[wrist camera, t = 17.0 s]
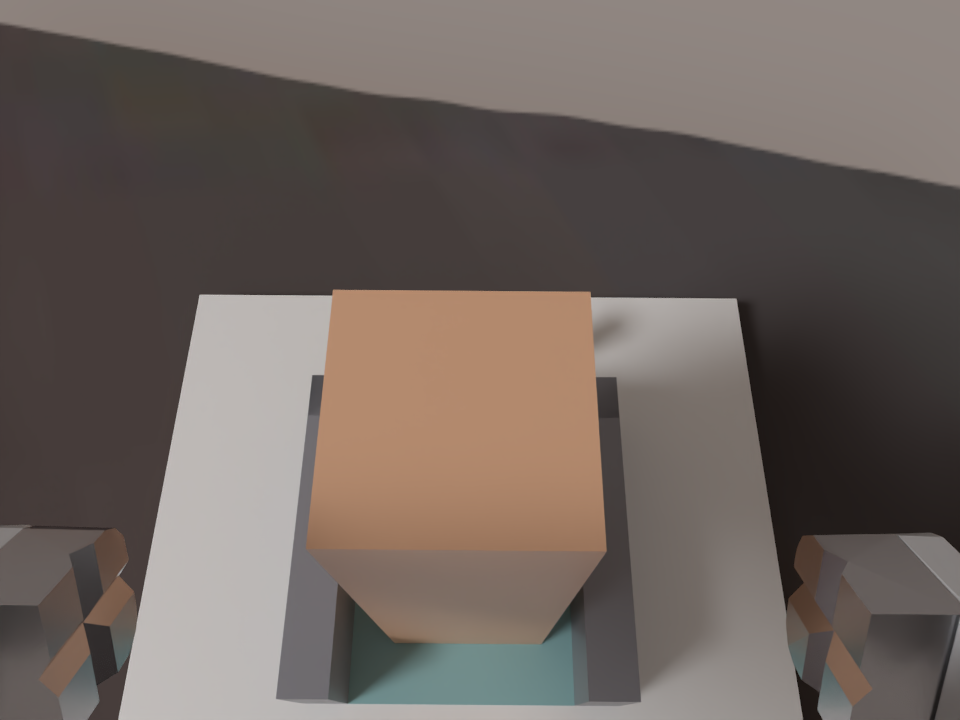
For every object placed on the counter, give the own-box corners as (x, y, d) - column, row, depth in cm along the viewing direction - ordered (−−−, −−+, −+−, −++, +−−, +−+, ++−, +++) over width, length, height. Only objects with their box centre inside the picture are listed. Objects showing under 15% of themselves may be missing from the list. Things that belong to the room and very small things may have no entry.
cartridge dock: (727, 313, 27) (766, 248, 23) (824, 954, 19) (906, 1007, 15) (209, 309, 27) (166, 243, 23) (91, 947, 19) (0, 998, 15)
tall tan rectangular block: (537, 500, 23) (590, 291, 12) (541, 644, 21) (606, 551, 10) (402, 499, 23) (333, 289, 12) (394, 643, 21) (305, 548, 10)
